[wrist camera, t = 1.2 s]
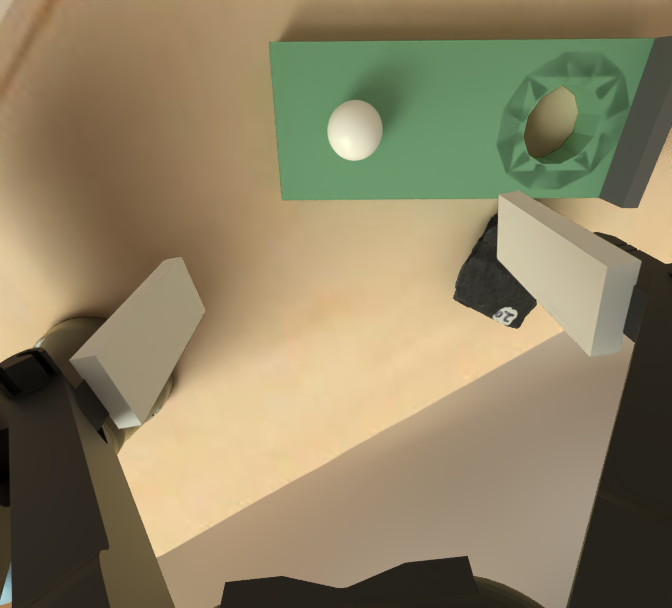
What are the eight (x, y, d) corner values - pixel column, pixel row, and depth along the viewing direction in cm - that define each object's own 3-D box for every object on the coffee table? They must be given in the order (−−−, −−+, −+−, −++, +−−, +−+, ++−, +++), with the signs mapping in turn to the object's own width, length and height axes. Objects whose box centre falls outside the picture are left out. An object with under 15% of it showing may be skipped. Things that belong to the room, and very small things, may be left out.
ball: (328, 156, 30) (327, 165, 26) (327, 98, 28) (326, 101, 24) (378, 155, 30) (383, 165, 26) (381, 98, 28) (387, 100, 24)
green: (286, 191, 34) (277, 210, 29) (275, 45, 28) (261, 37, 23) (591, 188, 34) (637, 207, 29) (641, 42, 28) (709, 33, 23)
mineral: (565, 243, 37) (600, 269, 32) (508, 313, 41) (532, 345, 36) (478, 203, 35) (501, 223, 30) (429, 281, 39) (442, 310, 34)
